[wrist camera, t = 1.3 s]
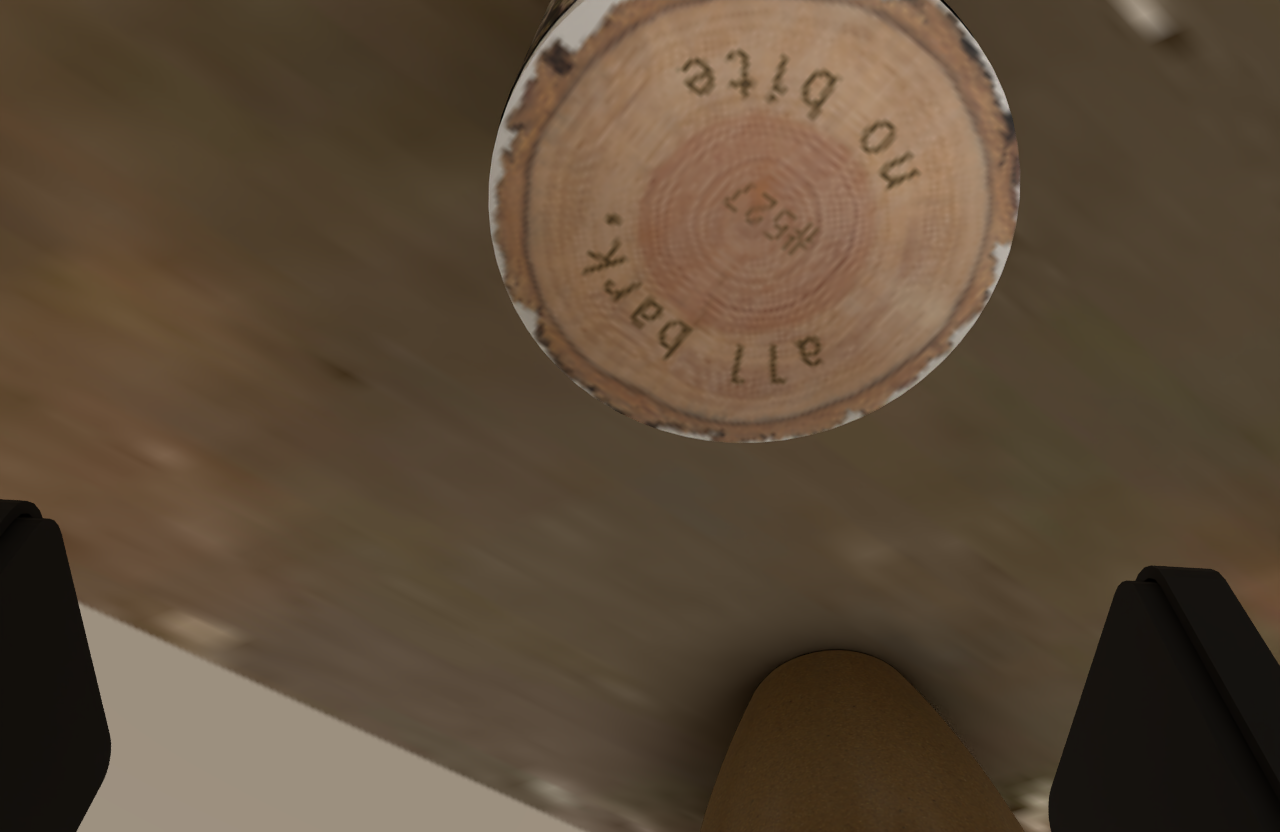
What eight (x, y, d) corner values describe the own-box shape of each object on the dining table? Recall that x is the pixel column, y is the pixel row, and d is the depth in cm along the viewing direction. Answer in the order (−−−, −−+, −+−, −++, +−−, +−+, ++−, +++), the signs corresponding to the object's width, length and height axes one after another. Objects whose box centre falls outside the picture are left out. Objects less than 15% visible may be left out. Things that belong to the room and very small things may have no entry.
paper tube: (718, 87, 39) (778, 524, 18) (550, -48, 37) (385, 259, 16) (860, -90, 37) (1137, 172, 15) (686, -244, 35) (713, -202, 13)
